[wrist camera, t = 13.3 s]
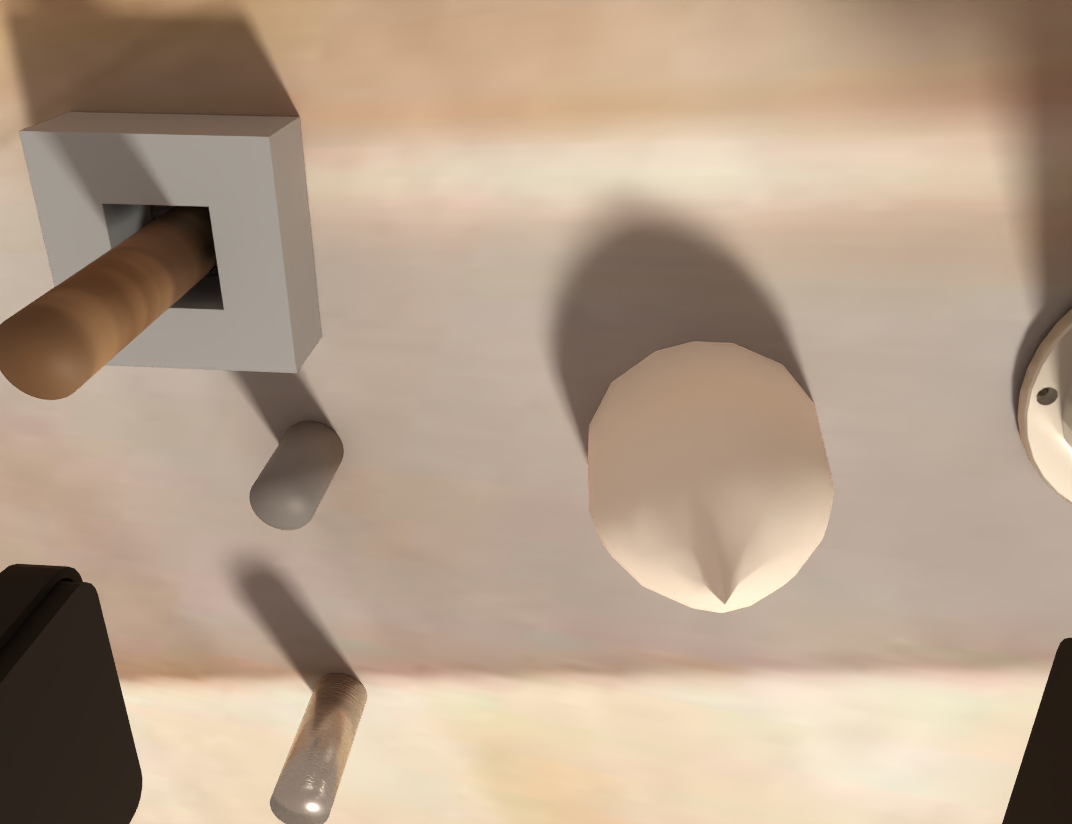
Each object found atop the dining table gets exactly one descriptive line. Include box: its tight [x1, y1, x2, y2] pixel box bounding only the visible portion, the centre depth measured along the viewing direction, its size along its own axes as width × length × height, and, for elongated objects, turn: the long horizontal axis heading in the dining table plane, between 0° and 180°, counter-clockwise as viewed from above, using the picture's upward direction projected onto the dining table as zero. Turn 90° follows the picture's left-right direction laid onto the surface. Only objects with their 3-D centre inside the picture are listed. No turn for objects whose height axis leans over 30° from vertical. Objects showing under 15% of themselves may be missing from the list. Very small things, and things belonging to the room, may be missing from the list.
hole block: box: [19, 112, 322, 373], centre depth 42 cm, size 10×10×4 cm
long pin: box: [0, 206, 217, 400], centre depth 38 cm, size 3×3×14 cm
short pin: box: [250, 421, 344, 530], centre depth 47 cm, size 3×3×5 cm
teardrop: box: [588, 341, 835, 613], centre depth 42 cm, size 11×11×12 cm
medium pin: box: [270, 673, 367, 824], centre depth 53 cm, size 3×3×8 cm
